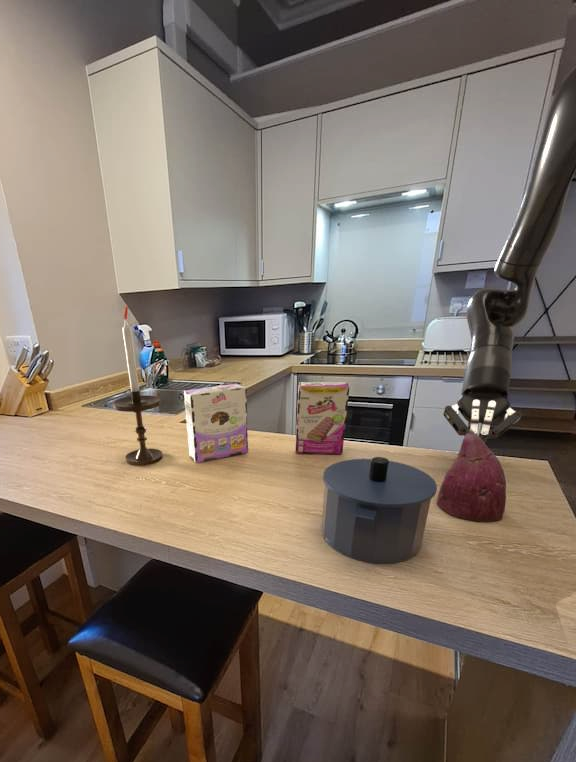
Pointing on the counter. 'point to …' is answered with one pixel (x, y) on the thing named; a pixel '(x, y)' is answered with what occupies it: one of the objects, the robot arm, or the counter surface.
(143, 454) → the candlestick
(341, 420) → the candy bar box
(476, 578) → the counter surface
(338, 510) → the pot
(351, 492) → the pot lid
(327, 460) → the counter surface
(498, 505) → the vegetable
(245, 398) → the candy box
